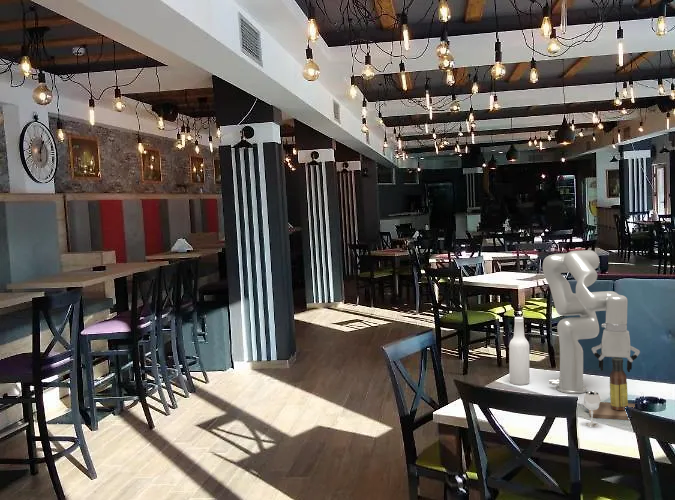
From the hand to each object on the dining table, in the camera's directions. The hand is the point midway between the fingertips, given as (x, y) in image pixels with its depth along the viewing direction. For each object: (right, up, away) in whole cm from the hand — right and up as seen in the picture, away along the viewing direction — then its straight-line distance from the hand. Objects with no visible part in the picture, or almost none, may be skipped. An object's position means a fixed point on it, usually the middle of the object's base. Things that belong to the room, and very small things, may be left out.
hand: (614, 370), depth 257 cm
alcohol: (-25, -14, +45) cm, 53 cm away
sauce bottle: (+2, -15, 0) cm, 15 cm away
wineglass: (-13, -18, -12) cm, 26 cm away
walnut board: (+1, -17, +1) cm, 17 cm away
